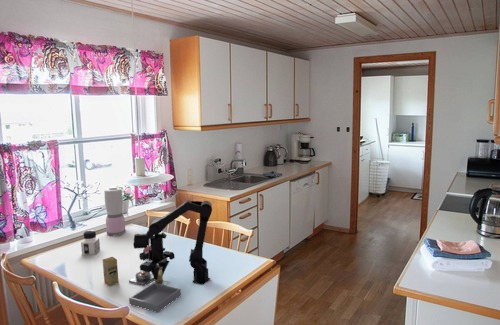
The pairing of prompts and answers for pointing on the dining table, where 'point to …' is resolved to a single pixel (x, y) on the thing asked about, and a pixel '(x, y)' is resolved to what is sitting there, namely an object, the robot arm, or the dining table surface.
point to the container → (90, 243)
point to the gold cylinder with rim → (159, 275)
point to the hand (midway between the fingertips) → (158, 278)
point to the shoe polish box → (110, 271)
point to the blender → (114, 211)
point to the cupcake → (147, 249)
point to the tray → (155, 297)
